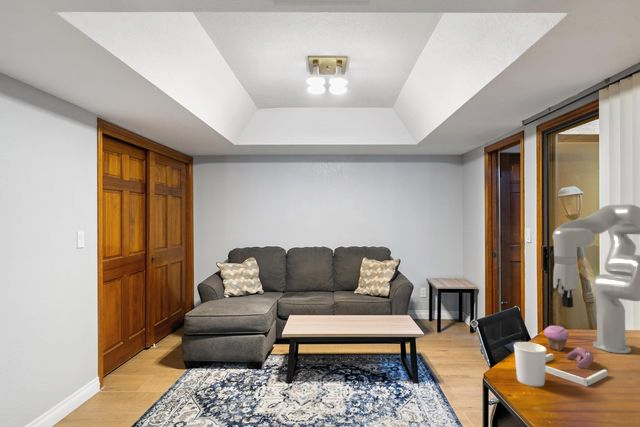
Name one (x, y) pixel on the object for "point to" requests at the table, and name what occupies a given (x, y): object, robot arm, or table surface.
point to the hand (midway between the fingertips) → (567, 306)
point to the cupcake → (556, 337)
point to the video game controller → (581, 357)
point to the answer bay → (575, 378)
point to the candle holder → (530, 363)
